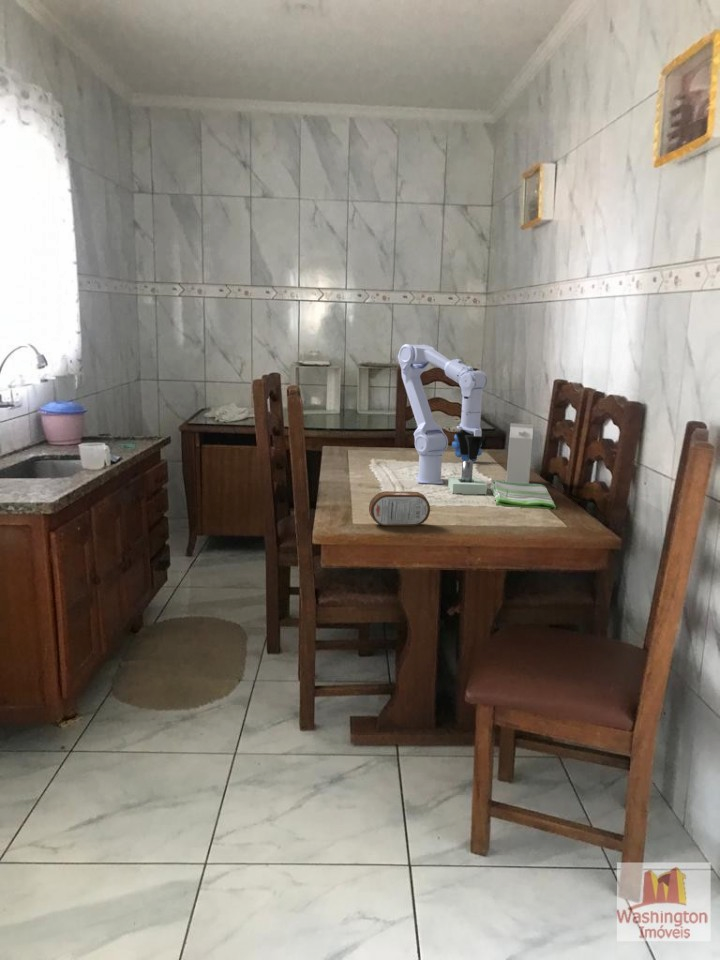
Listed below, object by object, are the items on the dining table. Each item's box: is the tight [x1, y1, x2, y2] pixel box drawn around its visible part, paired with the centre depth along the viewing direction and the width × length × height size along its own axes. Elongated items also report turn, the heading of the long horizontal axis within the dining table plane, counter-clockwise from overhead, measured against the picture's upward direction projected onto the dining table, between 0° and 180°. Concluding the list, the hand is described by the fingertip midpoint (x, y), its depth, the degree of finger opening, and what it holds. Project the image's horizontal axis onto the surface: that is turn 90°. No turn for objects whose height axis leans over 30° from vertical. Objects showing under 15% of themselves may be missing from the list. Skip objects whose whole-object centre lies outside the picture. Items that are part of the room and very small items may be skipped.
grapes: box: [451, 433, 483, 463], centre depth 267 cm, size 12×7×12 cm, turn 99°
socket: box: [447, 476, 488, 496], centre depth 220 cm, size 10×10×3 cm
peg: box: [460, 460, 474, 483], centre depth 220 cm, size 3×3×9 cm
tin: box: [368, 490, 431, 527], centre depth 178 cm, size 15×3×8 cm, turn 99°
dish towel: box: [490, 479, 557, 510], centre depth 213 cm, size 17×23×4 cm
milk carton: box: [505, 422, 534, 484], centre depth 234 cm, size 7×7×19 cm
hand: (468, 456), depth 218 cm, fingers open, 7 cm apart
